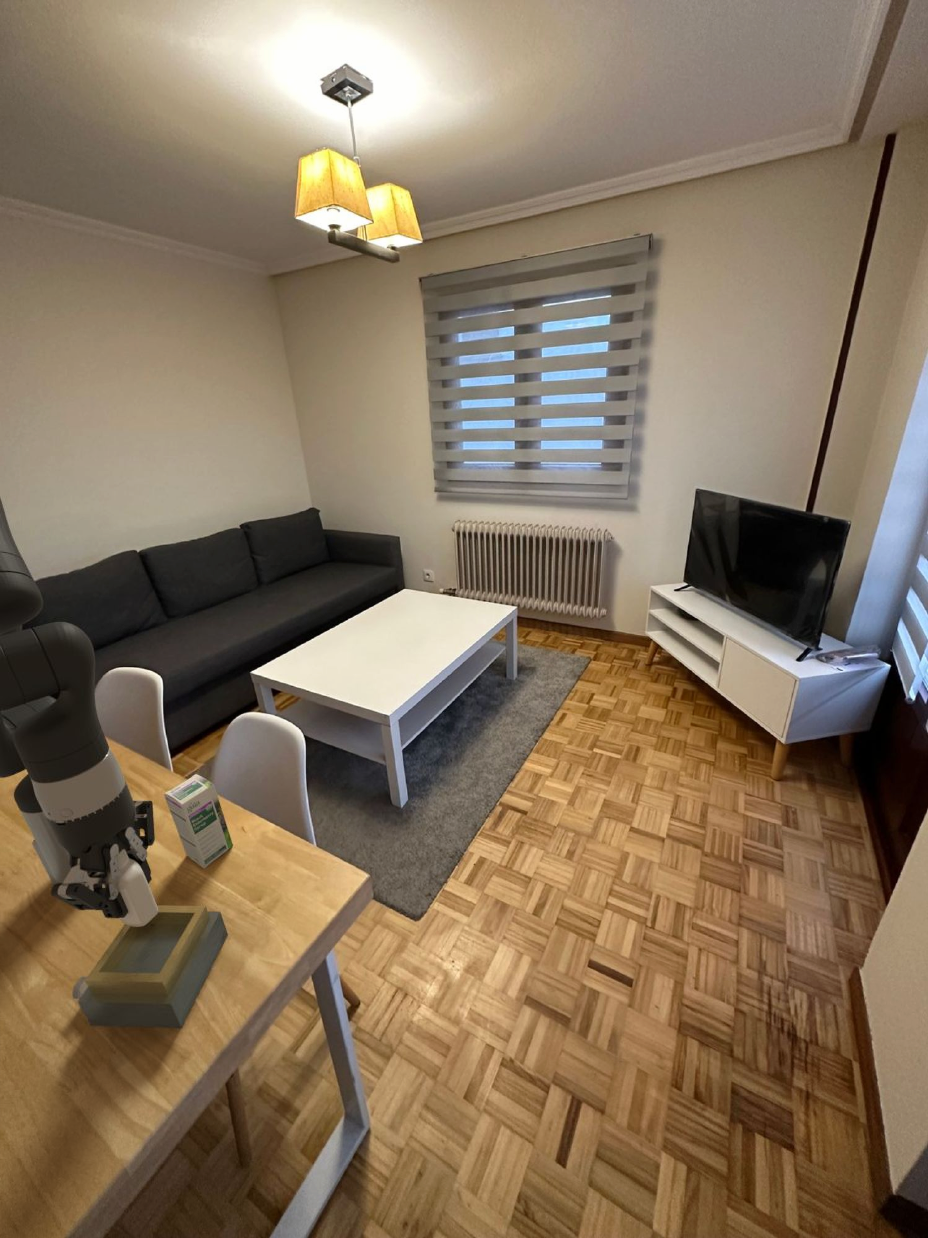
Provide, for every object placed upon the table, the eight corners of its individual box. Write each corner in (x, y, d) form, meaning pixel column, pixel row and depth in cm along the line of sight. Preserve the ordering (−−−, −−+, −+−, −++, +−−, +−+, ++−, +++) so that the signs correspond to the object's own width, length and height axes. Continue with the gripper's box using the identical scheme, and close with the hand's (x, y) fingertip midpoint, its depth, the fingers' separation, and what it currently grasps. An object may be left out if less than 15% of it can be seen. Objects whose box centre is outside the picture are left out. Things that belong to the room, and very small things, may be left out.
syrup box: (204, 870, 83) (182, 805, 77) (185, 855, 86) (162, 792, 80) (233, 846, 87) (215, 783, 81) (214, 833, 90) (195, 772, 84)
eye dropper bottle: (119, 940, 59) (87, 870, 54) (116, 907, 63) (85, 839, 58) (160, 919, 61) (132, 849, 56) (154, 888, 65) (128, 821, 61)
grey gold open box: (68, 1025, 62) (47, 988, 59) (131, 933, 73) (116, 898, 70) (181, 1028, 61) (165, 991, 58) (228, 934, 72) (216, 899, 69)
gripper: (99, 753, 61) (140, 852, 68) (-5, 844, 48) (57, 956, 54) (156, 752, 61) (191, 852, 67) (66, 844, 48) (120, 957, 54)
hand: (131, 898), depth 61 cm, fingers closed on eye dropper bottle, 3 cm apart
